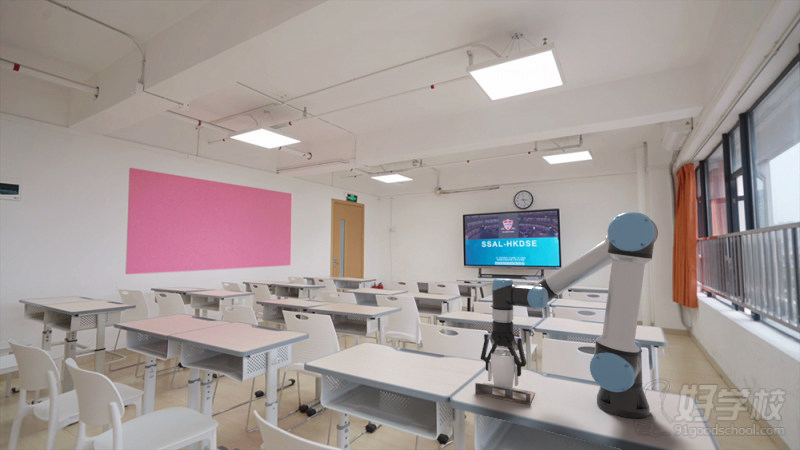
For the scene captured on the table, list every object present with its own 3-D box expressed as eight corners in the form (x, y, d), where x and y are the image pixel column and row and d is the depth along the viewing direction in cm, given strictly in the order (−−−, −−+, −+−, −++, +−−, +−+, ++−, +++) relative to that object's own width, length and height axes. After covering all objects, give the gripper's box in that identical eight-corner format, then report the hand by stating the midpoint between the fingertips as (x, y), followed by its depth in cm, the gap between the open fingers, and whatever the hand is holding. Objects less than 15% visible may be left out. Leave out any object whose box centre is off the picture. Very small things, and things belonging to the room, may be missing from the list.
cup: (491, 389, 131) (491, 355, 132) (490, 380, 140) (490, 349, 141) (517, 391, 129) (517, 357, 130) (514, 382, 138) (514, 350, 139)
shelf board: (534, 393, 133) (534, 383, 134) (529, 405, 124) (529, 394, 124) (483, 383, 142) (483, 374, 143) (475, 393, 133) (475, 383, 133)
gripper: (534, 321, 134) (535, 384, 133) (477, 316, 145) (477, 374, 143) (531, 325, 128) (532, 391, 126) (471, 319, 138) (471, 380, 137)
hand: (503, 382), depth 135 cm, fingers closed on cup, 9 cm apart
